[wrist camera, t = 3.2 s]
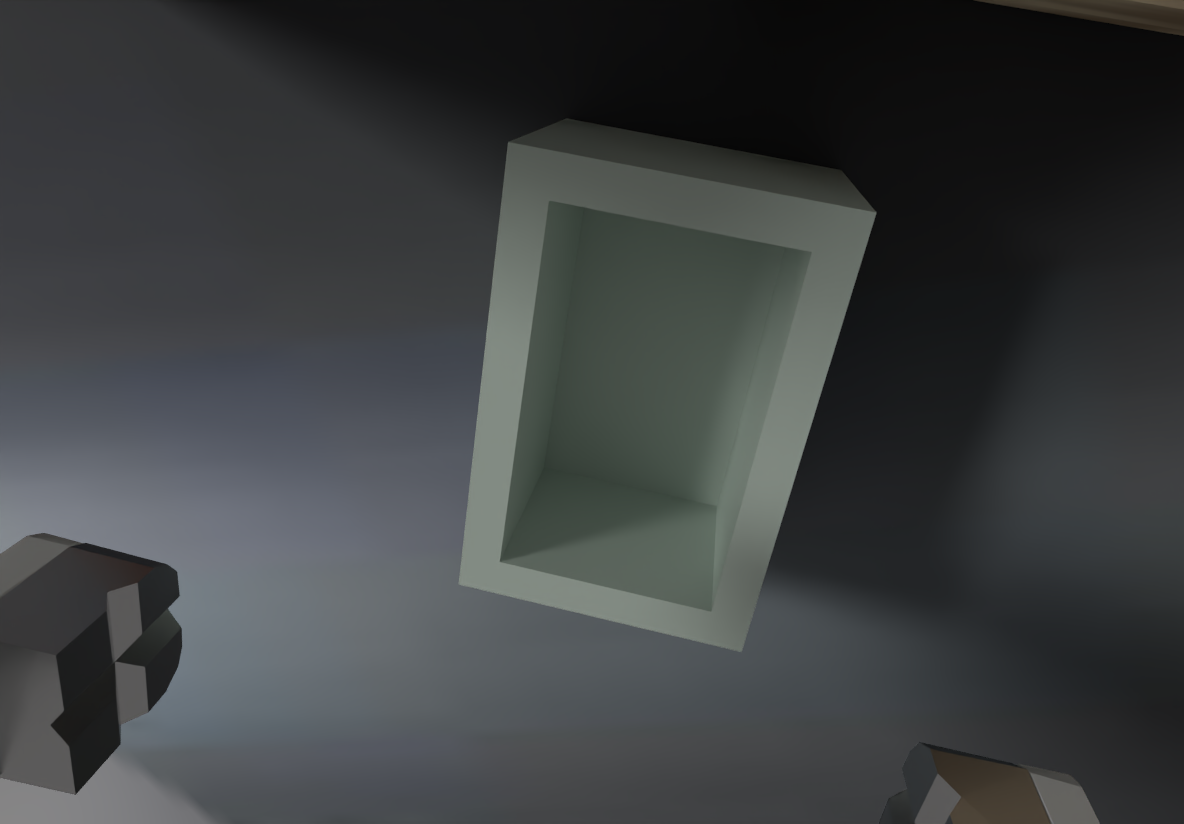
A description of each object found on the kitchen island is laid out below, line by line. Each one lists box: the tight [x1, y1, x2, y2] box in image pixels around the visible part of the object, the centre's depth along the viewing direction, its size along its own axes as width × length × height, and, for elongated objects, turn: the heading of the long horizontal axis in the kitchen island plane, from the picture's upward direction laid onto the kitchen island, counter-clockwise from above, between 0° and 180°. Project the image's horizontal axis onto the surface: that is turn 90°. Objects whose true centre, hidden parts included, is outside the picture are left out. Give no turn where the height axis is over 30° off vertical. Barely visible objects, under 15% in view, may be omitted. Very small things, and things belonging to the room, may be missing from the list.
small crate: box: [459, 118, 876, 652], centre depth 17 cm, size 6×9×5 cm, turn 171°
